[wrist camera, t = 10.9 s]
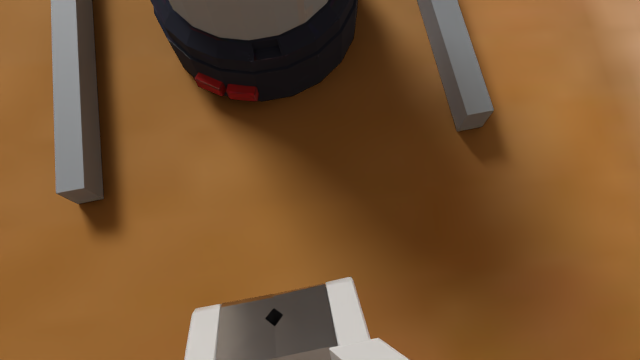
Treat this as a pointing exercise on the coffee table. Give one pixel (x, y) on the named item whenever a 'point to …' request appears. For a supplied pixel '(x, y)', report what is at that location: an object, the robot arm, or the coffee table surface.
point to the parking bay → (82, 97)
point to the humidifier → (258, 43)
